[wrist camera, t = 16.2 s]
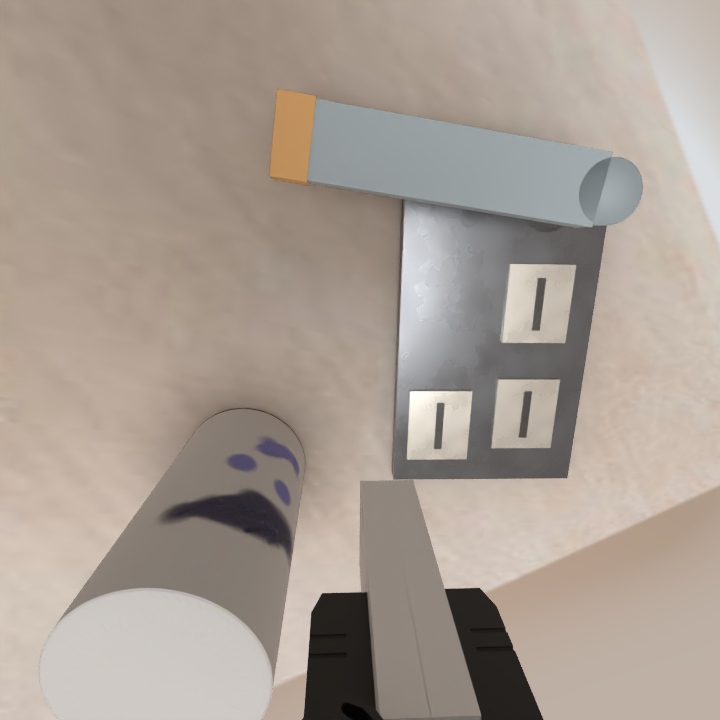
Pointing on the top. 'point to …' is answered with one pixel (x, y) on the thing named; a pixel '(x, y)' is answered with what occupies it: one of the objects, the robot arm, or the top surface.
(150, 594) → the container
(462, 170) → the grey long bar
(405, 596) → the robot arm
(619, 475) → the top surface
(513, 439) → the slotted grey board
